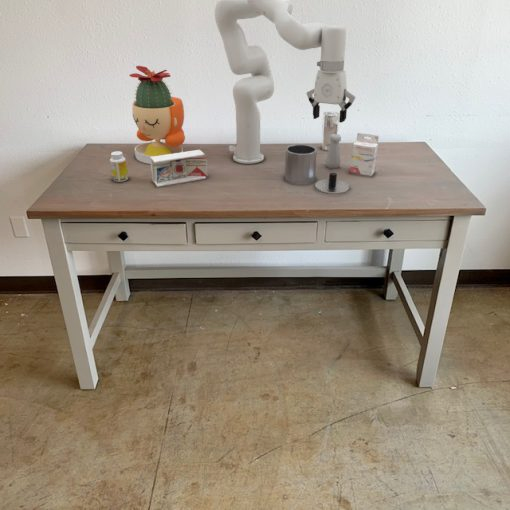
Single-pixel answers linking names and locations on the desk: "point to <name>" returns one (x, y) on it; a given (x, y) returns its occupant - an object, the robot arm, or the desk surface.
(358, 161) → the ink cartridge box
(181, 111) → the potted cactus
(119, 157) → the supplement bottle
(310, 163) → the canister
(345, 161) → the desk surface
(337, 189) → the canister lid
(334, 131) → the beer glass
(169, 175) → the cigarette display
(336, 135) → the salt shaker
